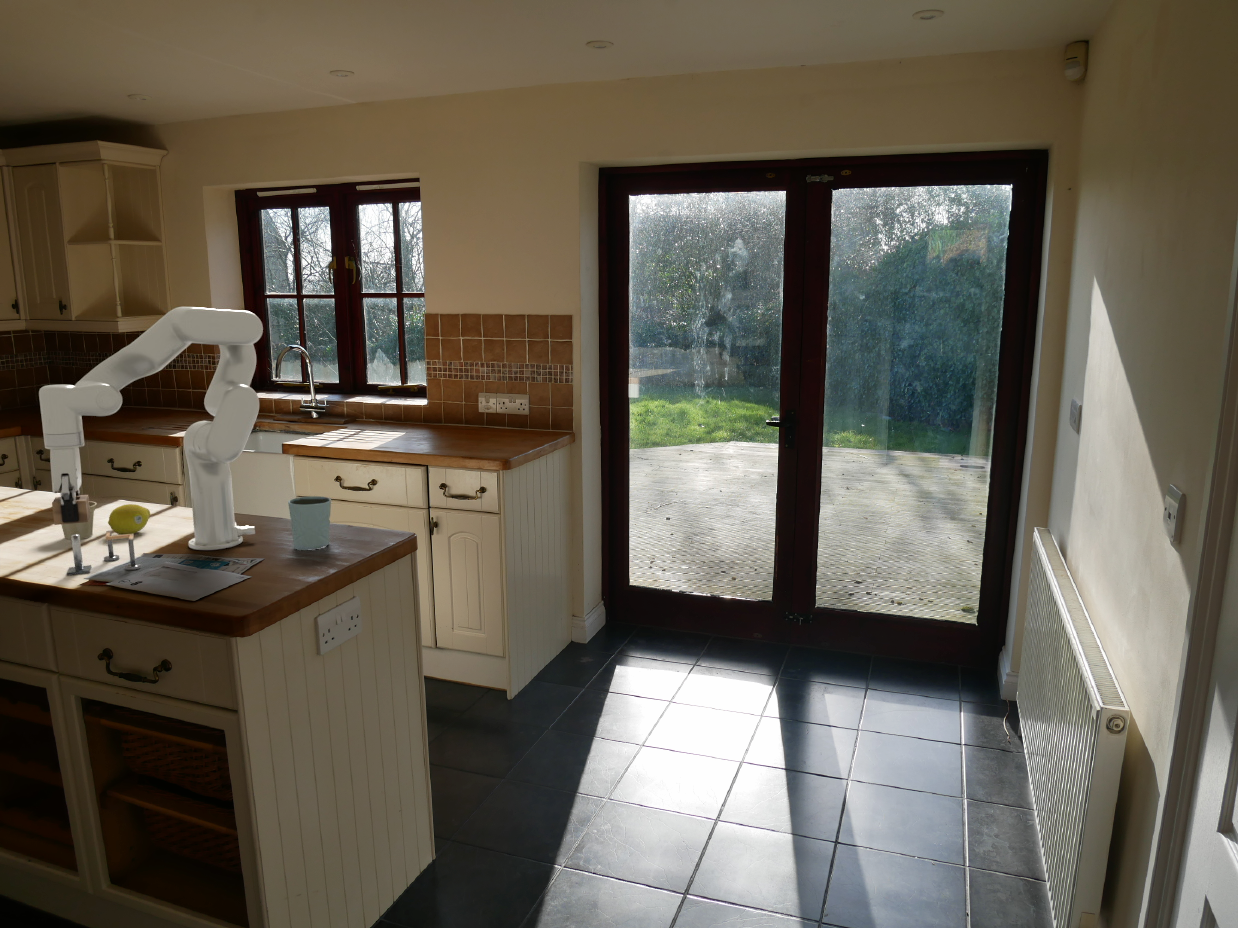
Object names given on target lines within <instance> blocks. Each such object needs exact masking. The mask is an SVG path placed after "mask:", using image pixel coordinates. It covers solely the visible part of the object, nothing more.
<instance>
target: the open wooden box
mask: <svg viewBox="0 0 1238 928" xmlns="http://www.w3.org/2000/svg"><path fill="white" fill-rule="evenodd" d="M89 498H90V497H89V494H80V495H78V496H76V504H78V512H79V521H78V522H67V523H63V522H62V514H61V496H55V498H54V499H53V501H52V503H51V506H52V507H51V509H52V515H53V523H54V524H53V525H54V526H59V525H61V524H72V523H83V522H88V521H89V518H90V516H91V515H90V506H89V501H90V499H89Z"/></svg>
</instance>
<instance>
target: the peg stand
mask: <svg viewBox="0 0 1238 928" xmlns="http://www.w3.org/2000/svg"><path fill="white" fill-rule="evenodd" d="M71 538H72V540H71V544H72V545H71V546H72V555H73V561H74V562H73V563H74V566H70V567H68V569H67V572H66V576H72V575H73V576H75V575H83V574H90V573H91V570H92V565H91V564H90V565H89V564H87V565H84V563H83V555H82V544H81V539H80V535H79V534H75V535H71Z"/></svg>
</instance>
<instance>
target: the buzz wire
mask: <svg viewBox="0 0 1238 928" xmlns="http://www.w3.org/2000/svg"><path fill="white" fill-rule="evenodd" d="M104 539H105V541H106V542H107V549H108V550H107V551H108V555H106V556H104V557H103V561H104V562H114V561H118V560H120V555H118V554H115V553H114V546H113V545H114V544H113V540H118V539H119V540H120V539H127V541H128V552H129V562H130V564H128V565H125V570H126V571H136V569H137V570H140V569H141V568H142V564H141V563H136V556H135V555H136V554H135V546H134V534H125V535H120V534H116V535H112V530H106V533H105V538H104ZM139 568H140V569H139Z"/></svg>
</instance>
